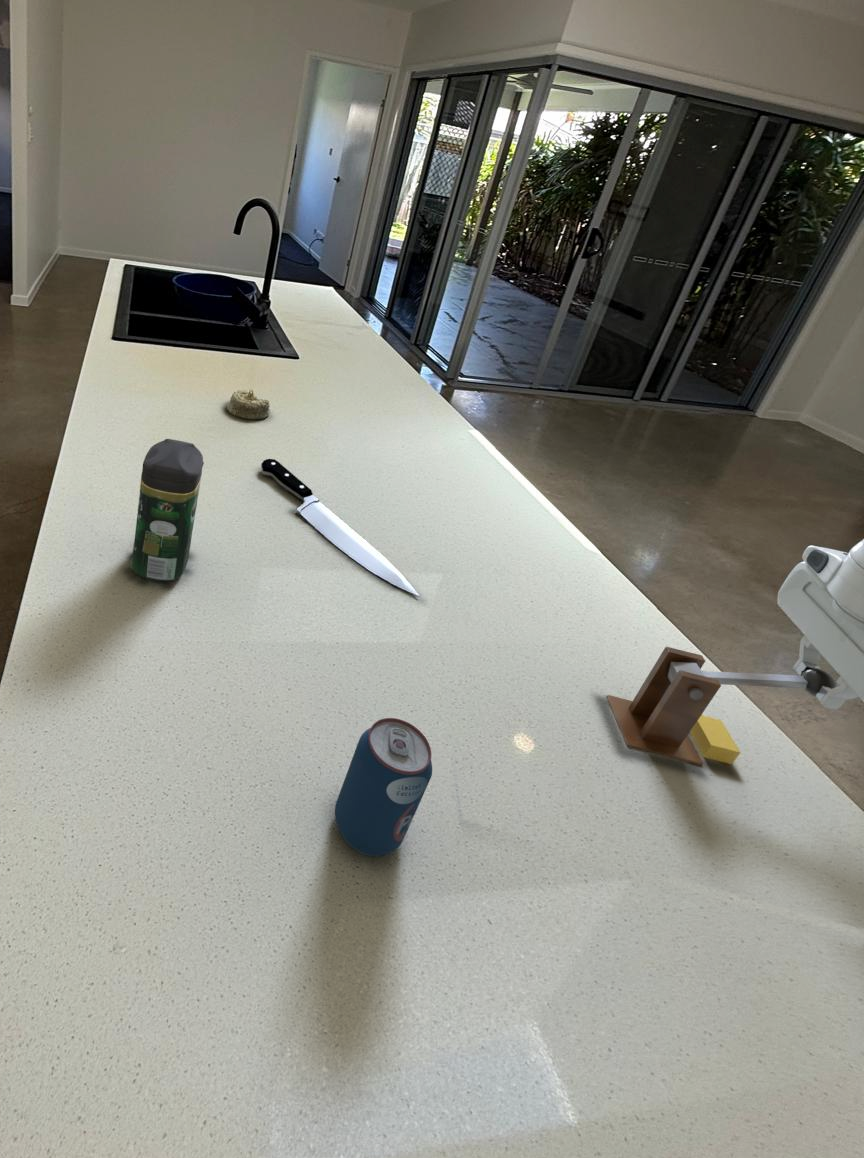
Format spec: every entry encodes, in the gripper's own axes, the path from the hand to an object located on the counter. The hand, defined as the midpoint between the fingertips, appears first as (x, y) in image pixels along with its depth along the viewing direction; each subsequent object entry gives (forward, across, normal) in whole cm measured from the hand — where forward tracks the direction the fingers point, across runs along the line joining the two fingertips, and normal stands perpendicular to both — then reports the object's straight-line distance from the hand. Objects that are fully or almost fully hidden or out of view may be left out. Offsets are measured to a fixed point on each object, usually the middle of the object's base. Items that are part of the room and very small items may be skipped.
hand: (813, 688), depth 76 cm
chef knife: (+12, +31, +57) cm, 66 cm away
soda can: (+12, -23, +50) cm, 56 cm away
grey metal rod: (+2, 0, +6) cm, 7 cm away
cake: (+12, +71, +79) cm, 107 cm away
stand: (+13, 0, +14) cm, 19 cm away
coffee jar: (+12, +9, +81) cm, 82 cm away
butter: (+13, 0, +7) cm, 14 cm away
